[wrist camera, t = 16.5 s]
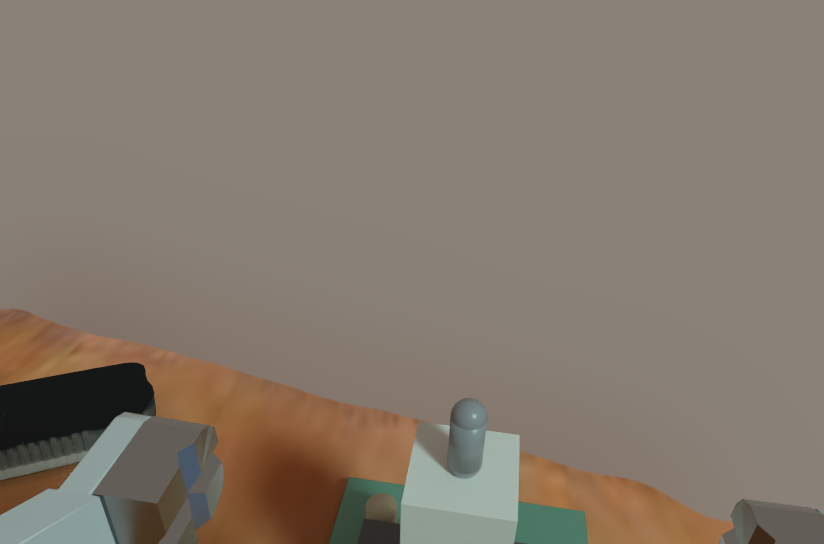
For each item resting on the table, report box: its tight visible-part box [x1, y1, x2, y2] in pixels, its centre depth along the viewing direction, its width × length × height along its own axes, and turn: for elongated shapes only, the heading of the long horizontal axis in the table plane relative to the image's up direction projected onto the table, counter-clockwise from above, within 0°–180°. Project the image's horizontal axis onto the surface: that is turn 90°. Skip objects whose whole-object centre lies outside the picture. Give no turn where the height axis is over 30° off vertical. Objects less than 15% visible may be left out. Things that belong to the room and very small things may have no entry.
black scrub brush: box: [0, 363, 156, 481], centre depth 47 cm, size 16×8×4 cm, turn 110°
